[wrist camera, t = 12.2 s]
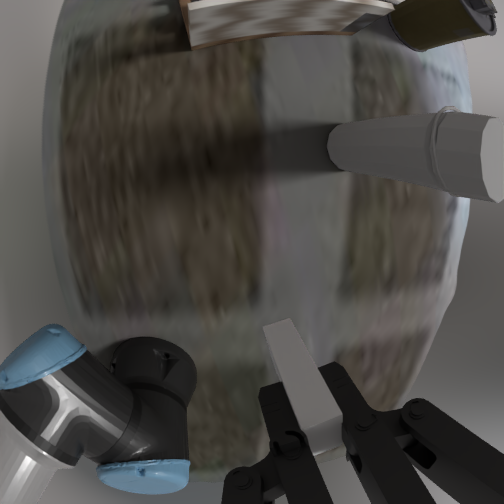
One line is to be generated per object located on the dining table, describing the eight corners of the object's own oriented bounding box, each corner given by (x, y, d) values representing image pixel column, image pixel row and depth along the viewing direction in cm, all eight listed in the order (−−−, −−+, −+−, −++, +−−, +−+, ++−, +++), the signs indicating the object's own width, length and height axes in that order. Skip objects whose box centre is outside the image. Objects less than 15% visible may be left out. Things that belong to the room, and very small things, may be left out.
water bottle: (340, 182, 37) (487, 228, 14) (313, 135, 35) (464, 125, 11) (383, 153, 37) (526, 175, 14) (360, 108, 34) (507, 91, 11)
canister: (401, 50, 31) (489, 25, 13) (378, 2, 27) (454, -38, 9) (437, 53, 32) (516, 39, 13) (418, 9, 28) (489, -17, 9)
